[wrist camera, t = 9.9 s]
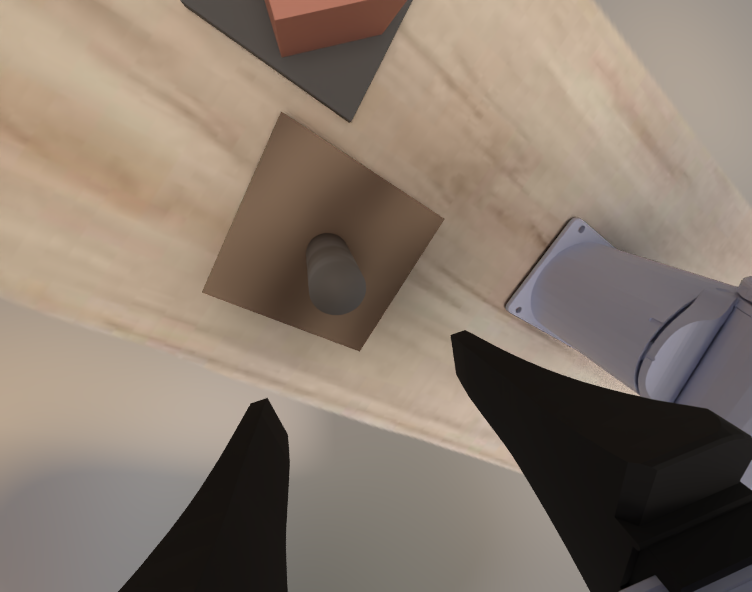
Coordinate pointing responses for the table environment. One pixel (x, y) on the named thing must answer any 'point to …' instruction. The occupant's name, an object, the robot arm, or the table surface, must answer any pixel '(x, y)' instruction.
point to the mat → (308, 69)
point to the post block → (319, 240)
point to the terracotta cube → (327, 22)
